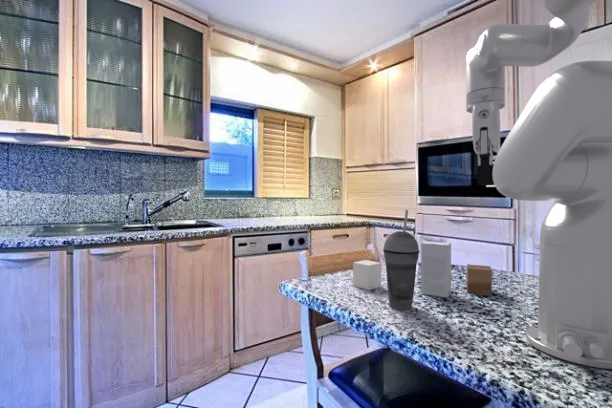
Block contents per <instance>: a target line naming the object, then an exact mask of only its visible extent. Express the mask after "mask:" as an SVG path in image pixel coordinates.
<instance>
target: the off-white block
mask: <svg viewBox="0 0 612 408" xmlns="http://www.w3.org/2000/svg"><path fill="white" fill-rule="evenodd" d="M352 286H353V287H357V288H360V289H364V290H367V291H370V290H373V289H377V288H380V287H382V262H377V261H372V260H368V259H363V260H359V261H353V262H352Z"/></svg>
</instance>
